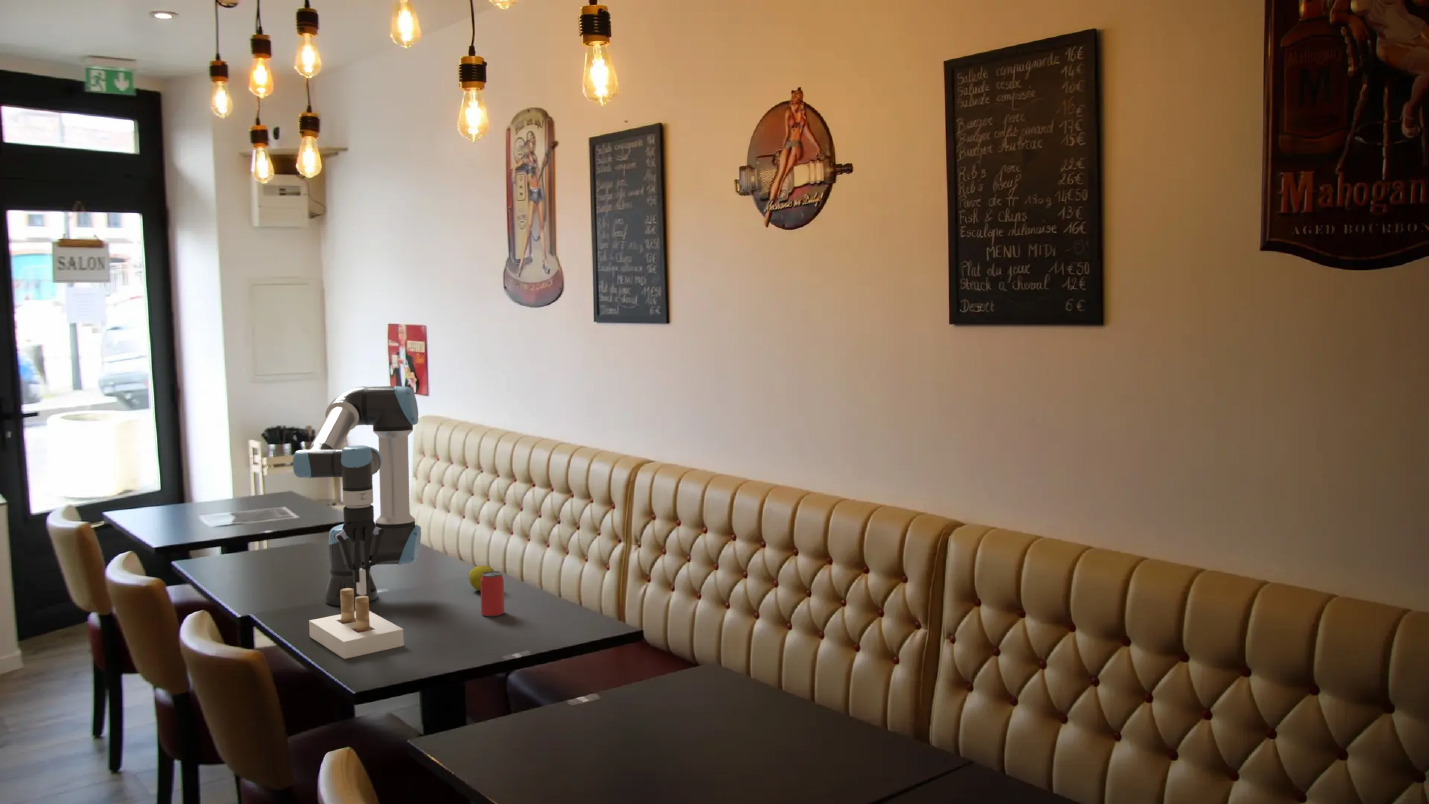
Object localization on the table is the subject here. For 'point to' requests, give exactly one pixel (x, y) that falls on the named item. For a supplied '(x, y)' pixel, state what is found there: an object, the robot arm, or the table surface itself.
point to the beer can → (492, 594)
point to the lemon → (478, 575)
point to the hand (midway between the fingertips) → (361, 593)
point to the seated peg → (347, 605)
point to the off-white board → (355, 635)
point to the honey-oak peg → (362, 614)
